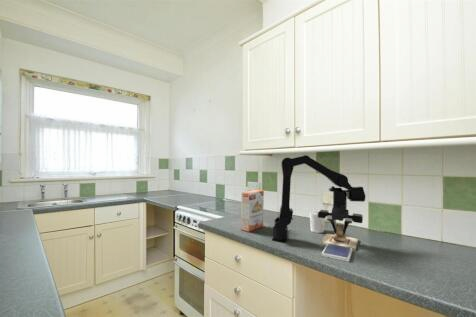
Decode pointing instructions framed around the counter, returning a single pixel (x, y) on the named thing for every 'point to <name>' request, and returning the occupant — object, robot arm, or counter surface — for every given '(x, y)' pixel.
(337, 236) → the stamp
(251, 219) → the cracker box
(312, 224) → the white cup
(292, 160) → the robot arm
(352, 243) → the board
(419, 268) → the counter surface
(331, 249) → the ink pad
